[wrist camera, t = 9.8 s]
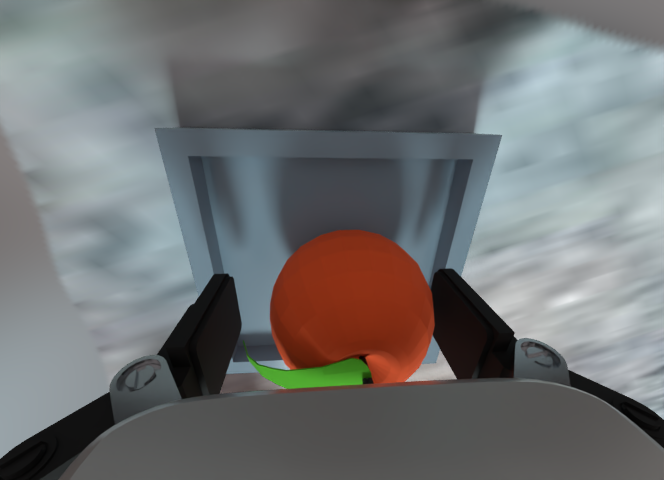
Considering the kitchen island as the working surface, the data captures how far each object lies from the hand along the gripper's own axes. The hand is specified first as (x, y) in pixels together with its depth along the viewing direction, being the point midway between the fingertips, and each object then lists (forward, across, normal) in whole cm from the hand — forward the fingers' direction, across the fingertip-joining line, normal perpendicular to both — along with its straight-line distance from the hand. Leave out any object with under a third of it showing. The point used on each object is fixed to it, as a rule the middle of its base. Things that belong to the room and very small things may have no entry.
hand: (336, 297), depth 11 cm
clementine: (+3, 0, 0) cm, 3 cm away
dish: (+4, 0, 0) cm, 4 cm away
